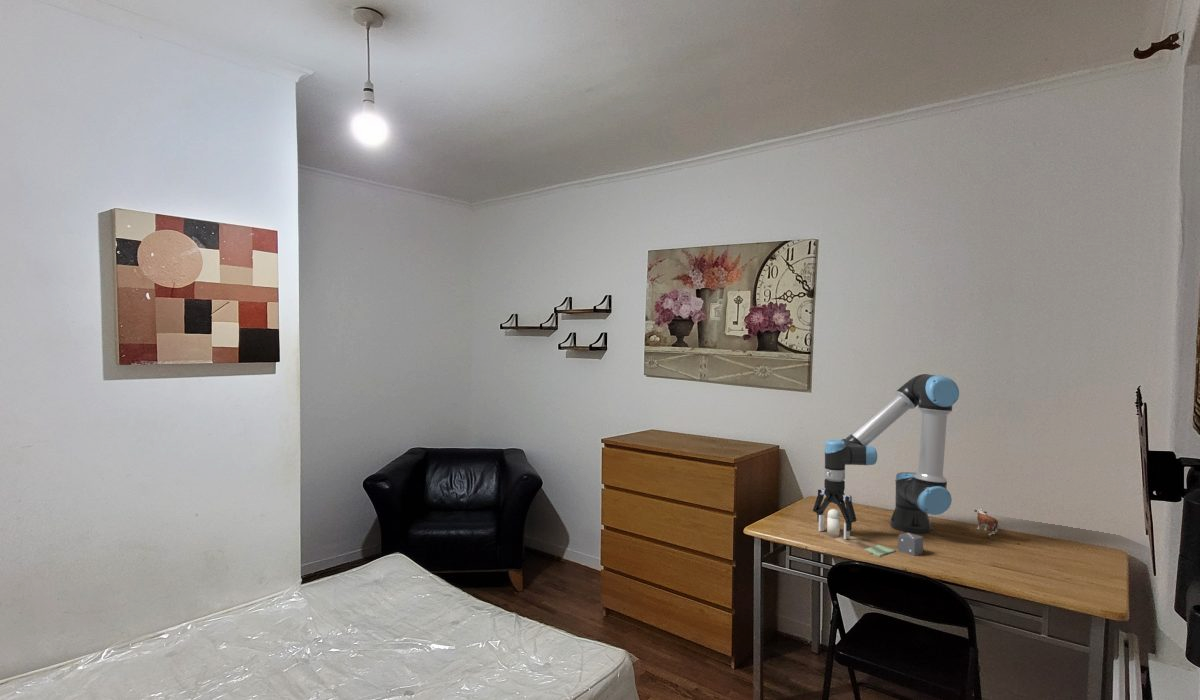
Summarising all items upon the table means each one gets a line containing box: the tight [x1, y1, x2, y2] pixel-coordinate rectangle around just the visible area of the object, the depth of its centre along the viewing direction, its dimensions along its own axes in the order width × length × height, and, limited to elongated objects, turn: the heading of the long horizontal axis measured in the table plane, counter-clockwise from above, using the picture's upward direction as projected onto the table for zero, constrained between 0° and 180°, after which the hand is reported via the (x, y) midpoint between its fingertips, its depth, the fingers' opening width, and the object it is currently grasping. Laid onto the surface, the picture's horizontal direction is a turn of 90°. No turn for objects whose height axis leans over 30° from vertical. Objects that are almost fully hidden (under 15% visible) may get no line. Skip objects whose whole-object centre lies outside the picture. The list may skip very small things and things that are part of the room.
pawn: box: [826, 508, 841, 537], centre depth 236 cm, size 5×5×10 cm
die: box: [897, 532, 924, 557], centre depth 219 cm, size 6×6×6 cm
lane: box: [818, 532, 896, 557], centre depth 228 cm, size 10×26×1 cm, turn 33°
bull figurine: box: [974, 508, 999, 536], centre depth 244 cm, size 4×13×8 cm, turn 174°
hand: (833, 534), depth 236 cm, fingers open, 11 cm apart
